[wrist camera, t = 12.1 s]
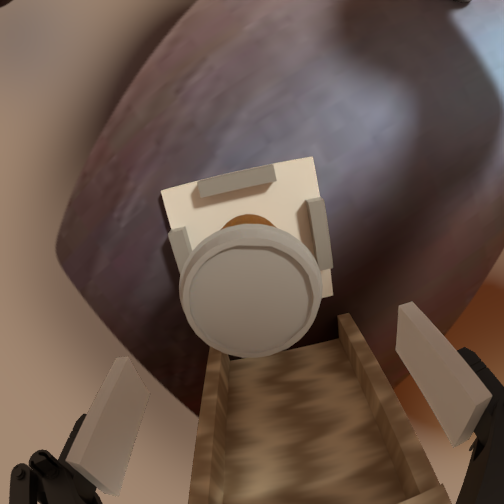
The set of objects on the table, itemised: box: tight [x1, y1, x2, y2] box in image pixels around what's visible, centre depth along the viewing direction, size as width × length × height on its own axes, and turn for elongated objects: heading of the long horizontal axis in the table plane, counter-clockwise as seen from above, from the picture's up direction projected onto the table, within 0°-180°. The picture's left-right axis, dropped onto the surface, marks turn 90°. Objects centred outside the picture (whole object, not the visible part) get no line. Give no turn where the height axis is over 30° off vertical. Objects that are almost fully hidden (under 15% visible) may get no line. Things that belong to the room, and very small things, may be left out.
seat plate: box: [161, 157, 333, 298], centre depth 29 cm, size 15×15×2 cm
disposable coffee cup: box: [179, 214, 323, 358], centre depth 23 cm, size 10×10×12 cm
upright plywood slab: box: [188, 313, 452, 504], centre depth 20 cm, size 17×6×30 cm, turn 102°
